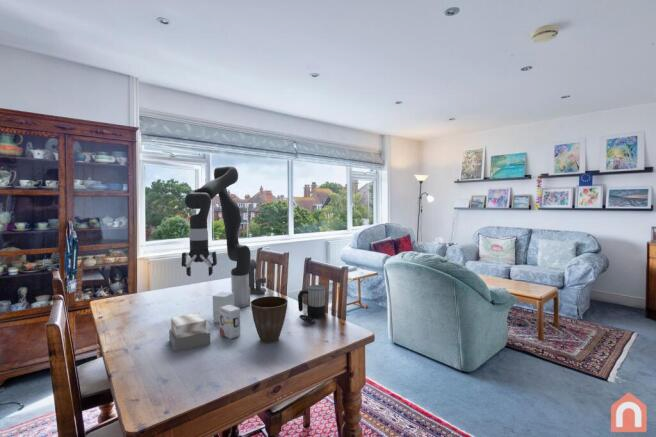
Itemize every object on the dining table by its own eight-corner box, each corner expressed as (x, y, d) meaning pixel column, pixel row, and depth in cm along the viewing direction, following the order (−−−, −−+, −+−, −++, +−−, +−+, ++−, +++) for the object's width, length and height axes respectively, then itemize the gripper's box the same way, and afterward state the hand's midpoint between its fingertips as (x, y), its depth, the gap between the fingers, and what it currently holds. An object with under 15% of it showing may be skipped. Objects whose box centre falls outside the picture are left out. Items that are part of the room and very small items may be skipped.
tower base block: (202, 334, 144) (202, 322, 144) (210, 344, 133) (210, 332, 133) (169, 341, 137) (169, 329, 136) (175, 353, 126) (174, 340, 126)
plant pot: (294, 335, 141) (294, 298, 140) (275, 350, 127) (274, 309, 126) (265, 330, 147) (264, 294, 146) (243, 343, 133) (242, 304, 133)
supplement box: (235, 318, 162) (234, 292, 161) (225, 323, 155) (225, 296, 154) (222, 316, 164) (221, 291, 163) (212, 321, 157) (212, 295, 156)
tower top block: (199, 324, 142) (199, 312, 142) (206, 332, 133) (206, 320, 133) (171, 329, 136) (171, 317, 136) (176, 339, 127) (176, 326, 127)
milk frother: (323, 312, 170) (323, 284, 169) (331, 324, 154) (331, 292, 154) (296, 315, 166) (295, 285, 165) (301, 326, 151) (300, 294, 150)
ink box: (219, 334, 143) (218, 307, 142) (229, 330, 147) (229, 304, 146) (230, 339, 137) (230, 311, 137) (241, 335, 141) (240, 308, 141)
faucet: (268, 287, 219) (268, 257, 217) (265, 294, 203) (264, 261, 202) (240, 287, 218) (239, 257, 216) (234, 294, 202) (234, 262, 201)
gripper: (217, 237, 149) (218, 273, 150) (184, 238, 147) (184, 274, 148) (214, 239, 142) (214, 277, 143) (179, 240, 140) (180, 278, 140)
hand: (199, 275), depth 145 cm, fingers open, 8 cm apart
